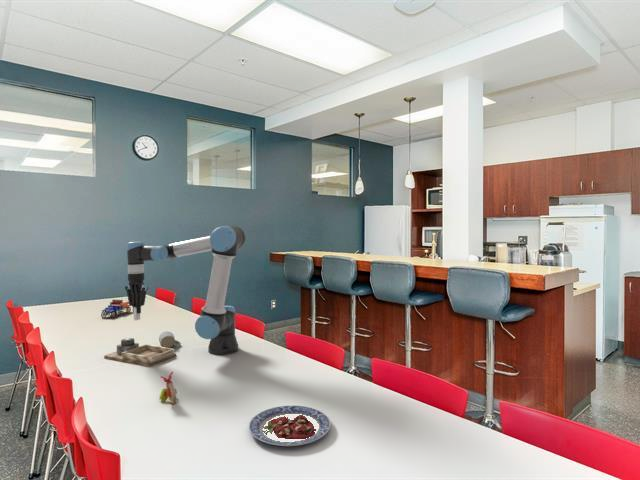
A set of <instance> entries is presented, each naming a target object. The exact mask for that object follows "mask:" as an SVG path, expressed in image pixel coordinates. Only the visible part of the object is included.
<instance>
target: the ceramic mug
mask: <svg viewBox="0 0 640 480" xmlns="http://www.w3.org/2000/svg"><path fill="white" fill-rule="evenodd" d="M158 342H159V345H160V347H165V348H171V349H173V347H177V348H179V347H181V345H182V343H181V342H180V341H178V340H177V339H175V336H174V333H172V331H168V330H166V331H164V332H161V333H160V335H159V337H158Z"/></svg>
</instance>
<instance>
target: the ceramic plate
mask: <svg viewBox="0 0 640 480" xmlns="http://www.w3.org/2000/svg"><path fill="white" fill-rule="evenodd" d="M285 414H302V415H299V416H297V417H296V418H294V420H290V419H288V417H287V418H286V417H285V416H284V417H279V418H277V419H273V420H271V419H272V418H274V417H276V416H280V415H285ZM303 415H306V416H310V417H312V418H313V419H315V420H316V421H317V423H318V424H319V429H318V431H317V433H316V434H315V432H314V431H316V429H314V426H313V424H312V423H311V422H310V421H308V420H307V418H306V417H305V416H303ZM269 420H271V421H269ZM267 421H269V422H268V426H265V427H264V425H265V424H266V422H267ZM248 424H249V425H248V429H249V432H250V434H251V436H252V437H254V438H255V439H256V440H258V441H261V442H263V443H265V444H268V445H273V446H279V447H280V446H282V447H294V446H295V447H296V446H302V445H308V444H310V443H314V442H316V441H318V440H320V439H322V438H323V437H325V435H327V434H328V433H329V431H330V429H331V425H332V423H331V420H330V418H329V417H328V416H327V415H326V414H325V413H324V412H322V410H321V411H320V410H318V409H316V408H313V407H308V406H305V405H280V406H275V407H272V408H268V409H264V410H263V411H260V412H258V413H257V414H255V415H254V416H253V417H252V419H251V420H250V421H249V423H248ZM263 428H264V429H268V430H269V431H267V430H266V431H267V432H266V431H263V430H262V429H263ZM273 431H274V433H275V435H276V436H277V437H278V438H285V439H305V440H301V441H295V442H280V441H275V440H272V439H270V438H268V437H267V436H266V435H267V433H268V432H270V433H271V434H272V432H273ZM263 432H264V433H265V432H266V433H265V434H266V435H264V433H263ZM309 437H310V438H309ZM306 438H307V439H306Z"/></svg>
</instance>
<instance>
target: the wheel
mask: <svg viewBox="0 0 640 480" xmlns="http://www.w3.org/2000/svg"><path fill="white" fill-rule="evenodd" d="M134 343H135V338H133V337H128V338H123V339H121V340H120V344H121V345H123V346H127V345H132V344H134Z"/></svg>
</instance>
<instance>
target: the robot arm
mask: <svg viewBox="0 0 640 480" xmlns="http://www.w3.org/2000/svg"><path fill="white" fill-rule="evenodd" d="M246 237H247V235H246V233H245V231H244V230H243V229H242V228H241V227H239V226H235V225H233V226H231V225H221V226H219V227H216V228H215V229H214V230H212V232H211V233H210V235H207V236H203V237H198V238H193V239H189V240H184V241H179V242H173V243H168V244H163V245H162V244H161V245H160V244H159V245H145V243H144V242H143V241H130V242H128V243H127V249H126V252H127V253H126V254H127V281H128V285H125V286H124V289H125V291H126V295H127V299H128V301H127V302H129V304H128V305H131V306H130V307H132V313H133V321H140V320H141V314H142V307H143V306H145V303H146V297H147V291H148V289H149V287H148V286H145V283H144V280H145V273H144V272H145V262H163V261H165V260H171V259H176V258H180V257H184V256H191V255H195V254H199V253H205V252H210V251H211V252H210V253H211V254H212V256H213V261H212V265H211V266H212V267H211V272H210V277H209V284H208V290H207V294H206V300H205V301H206V302H205V305H204V306H202V307H201V310H200V316H199V317H198V318H197V319H196V320H195V322H194V329H195V332H196V333H197V335H198V336H199V337H200V338H201V339H204V340H210V341H209V344H208V347H207V351H208V353H209V354H213V355H230V354H233V353H236V352H238V351H239V343H238V341H237V337H236V308H235V306H233V305H225V302H226V297H227V293H228V291H227V290H228V284H229V279H230V275H231V267H232V262H233V259H234V258H236V257H237V252H238V250H239V249H241V248H242V247H243V246H244V245H245V243H246ZM131 302H132V303H131Z"/></svg>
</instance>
